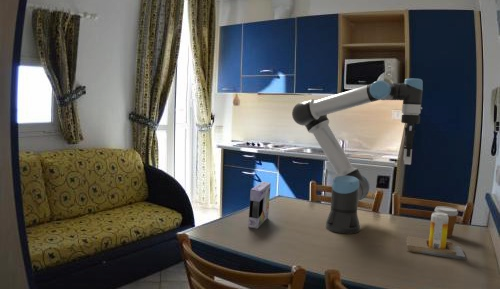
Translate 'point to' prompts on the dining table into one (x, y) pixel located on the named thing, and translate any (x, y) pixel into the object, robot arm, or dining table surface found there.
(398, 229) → the dining table surface
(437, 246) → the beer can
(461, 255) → the grey flat plate
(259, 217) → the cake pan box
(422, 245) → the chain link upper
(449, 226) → the disposable coffee cup
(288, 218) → the dining table surface
